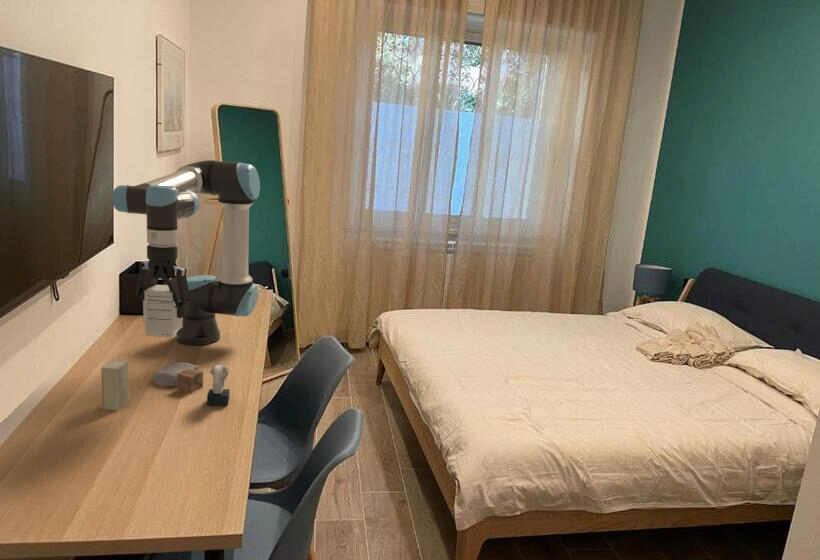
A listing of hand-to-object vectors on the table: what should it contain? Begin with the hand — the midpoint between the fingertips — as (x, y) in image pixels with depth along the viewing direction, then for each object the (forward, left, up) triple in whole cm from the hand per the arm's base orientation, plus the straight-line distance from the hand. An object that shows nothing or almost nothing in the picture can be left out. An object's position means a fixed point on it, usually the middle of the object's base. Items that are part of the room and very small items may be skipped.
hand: (163, 325), depth 162 cm
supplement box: (0, 0, -2) cm, 2 cm away
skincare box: (+9, -8, -22) cm, 25 cm away
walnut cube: (-10, +1, -22) cm, 24 cm away
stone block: (-13, -8, -22) cm, 27 cm away
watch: (-6, +14, -22) cm, 27 cm away
